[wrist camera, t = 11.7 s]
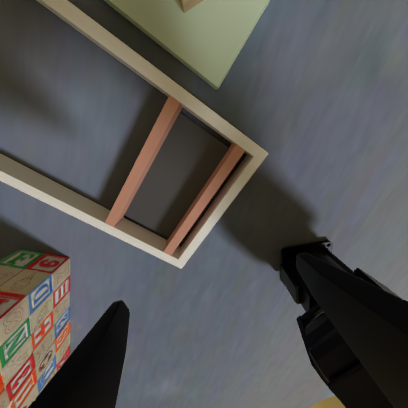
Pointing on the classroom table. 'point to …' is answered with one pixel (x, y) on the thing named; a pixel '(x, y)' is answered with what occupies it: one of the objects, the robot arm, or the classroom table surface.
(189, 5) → the maple block
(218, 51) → the green pad
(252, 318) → the classroom table surface
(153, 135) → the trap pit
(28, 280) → the stack of blocks
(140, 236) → the channel
